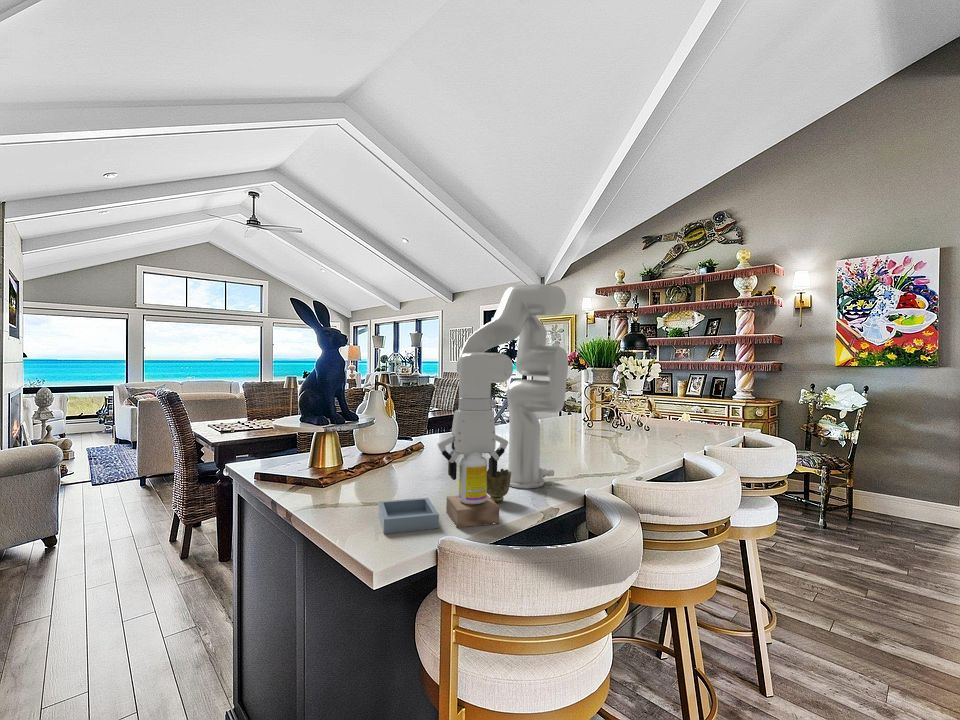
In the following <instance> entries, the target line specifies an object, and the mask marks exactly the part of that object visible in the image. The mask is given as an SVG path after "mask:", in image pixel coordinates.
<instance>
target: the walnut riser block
mask: <svg viewBox="0 0 960 720" xmlns="http://www.w3.org/2000/svg"><path fill="white" fill-rule="evenodd" d="M445 505H446V507H445V508H446V509H445V511H446V514H448V515H449V516H448V515H447V516H448V517H449V519H450V518H451V519H450V520H451V522H452V521H453V522H454V523H453V522H452V523H453V524H455V525H456V526H455V525H454V526H455V527H456V528H457V527H464V528H467V527H466V526H474V527H477V526H476V525H484V526H486V525H485V524H493V523H499V524H500V506H499V505H498V503H495V502H494V501H493V500H492V499H491V498H490V495H489V496H488V495H487V498H486V501H485V502H483V503H481V504H473V505H472V504H465V503H462V502H460V500H459V495H450V496H448V495H447V496H446V504H445ZM493 525H494V524H493Z"/></svg>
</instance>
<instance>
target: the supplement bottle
mask: <svg viewBox="0 0 960 720" xmlns="http://www.w3.org/2000/svg"><path fill="white" fill-rule="evenodd" d="M487 471H488V461H487V459H486V458H485V457H484V456H483V453H481V454H480V453H472V454H463V456H462V457H461V458H459V461H458V496H459V500H460V502H462V503H465V504H472V505H473V504H481V503H483V502H485V501H486V498H487V496H488V493H487Z"/></svg>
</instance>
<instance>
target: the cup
mask: <svg viewBox="0 0 960 720" xmlns="http://www.w3.org/2000/svg"><path fill="white" fill-rule="evenodd" d="M488 471H489V468H487V495H489V497H490V498H491V499H492V500H493V501H494V502H495V503H496V504H500V503H502V502H503V501H504V497H505V496H506V495H507V494H508V493H509V490H510V487H511V486H510V479H511V471H510V472H509V471H508V468H507V469H504V468H501V469H500V471H499V470H497V473H496V476H495V477H492V476H491V475H489V473H488ZM499 502H500V503H499Z"/></svg>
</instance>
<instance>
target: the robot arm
mask: <svg viewBox="0 0 960 720" xmlns="http://www.w3.org/2000/svg"><path fill="white" fill-rule="evenodd" d="M566 303H567V298H566V294H565V290H563V288H562V287H560V286H557V285H552V284H545V283H534V284H517V285H512V286H510V287H507V289H506V290H505V291H504V293H503V295H502V297H501V300H500V302H499V304H498V306H497V309H496V311H495V313H494V315H493V317H492V320H490V321H489V322H487V323H485V324H484V325H483V326H481V327H480V328H478V329H477V330H476V331H474V332H473V333H472V334H470V336H469V337H468V338H467V340H466V341H465V342H464V345H463V346H462V349H461V350H460V352H459V355H458V358H457V360H456V372H457V376H458V377H459V378H458V379H459V380H458V381H459V382H458V409H456V410H454V413H453V420H452V426H451V433H450V434H451V435H449V436H448V437H446V438H444V439H443V440H441V441H439V442H437V447H438V449H439V451H440V454H441V455H442V456H443V457H444V458H445V459H446V460H447V461H448V462H447V463H448V466H447V467H448V469H447V471H448V473H447V474H448V476H449V477H450V478H451V479H452V480H453V481H456V480H457V472H458V471H457V470H458V469H457V468H458V465H457V462H456V460H457V459H458V457H459V456H460V455H464V454H472V453H480V454H481V453H482V454H488V455H489V456H490V457H489V458H488V469H489V471H488V470H487V471H488V473H489V475H491V476H492V477H495V476H496V473H497V472H498V461H499V460H500V457H502V456H503V454H504V453H505V452H506V451H505V450H506V449H507V447H508V467H507V469H508V471H509V472H510V471H511V479H510V486H509V487H512V488H517V489H518V488H519V489H536V488H540V487H543V486H544V485H545V477H554V476H555V471H554V469H546V468H541V466H540V465H541V433H542V432H541V431H542V429H541V422H540V421H539V419H538V417H537V416H536V414H535V413H536V412H537V413H547V414H557V413H558V414H559V413H560V412H561V411H562V410H563V408H564V405H565V400H566V392H567V391H566V390H567V380H568V371H569V358H568V353H567V351H566V349H564V347H562V346H559V345H546V344H547V334H548V333H547V329H546V327H545V325H544V324H543V323H542V322H541V320H540V319H539V318H538V317H537V316H558V315H561V314H562V313H563V312H564V311H565V307H566ZM518 337H519V339H518V345H517V353H516V361H515V362H516V363H515V364H516V365H515V366H516V371H517V373H518V374H520V375H521V376H522V375H523V376H526V377H539V378H541V377H542V378H549V380H539V379H515V380H514V381H512V382H510V383H509V384H508V386H507V391H506V399H507V405H508V417H509V420H508V421H509V423H508V424H509V430H508V440H507V439H504V438H503V437H501V436H499V435H497V434H496V424H495V417H494V411H493V410H491V409H492V407H493V406H494V407H495V406H496V405H497V401H496V400H495V399H492V398H491V395H492V391H491V390H492V388H491V387H492V386H491V385H492V384H493V383H495V384H501V383H505V382H506V381H507V382H508V380H509V379H510V378H511V376H512V374H513V372H514V364H513V361H512V359H511V357H510V356H508V355H507V354H506V353H501V352H488V350H490V349H492V348H494V347H497V346H501V345H504V344H506V343H509V342H511V341H513V340H515V339H517V338H518ZM486 351H487V352H486ZM497 442H498V443H499V446H498V448H497V449H496V445H497ZM447 445H450V448H451V451H450V453H449V452H448V451H447V449H446V446H447Z"/></svg>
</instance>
